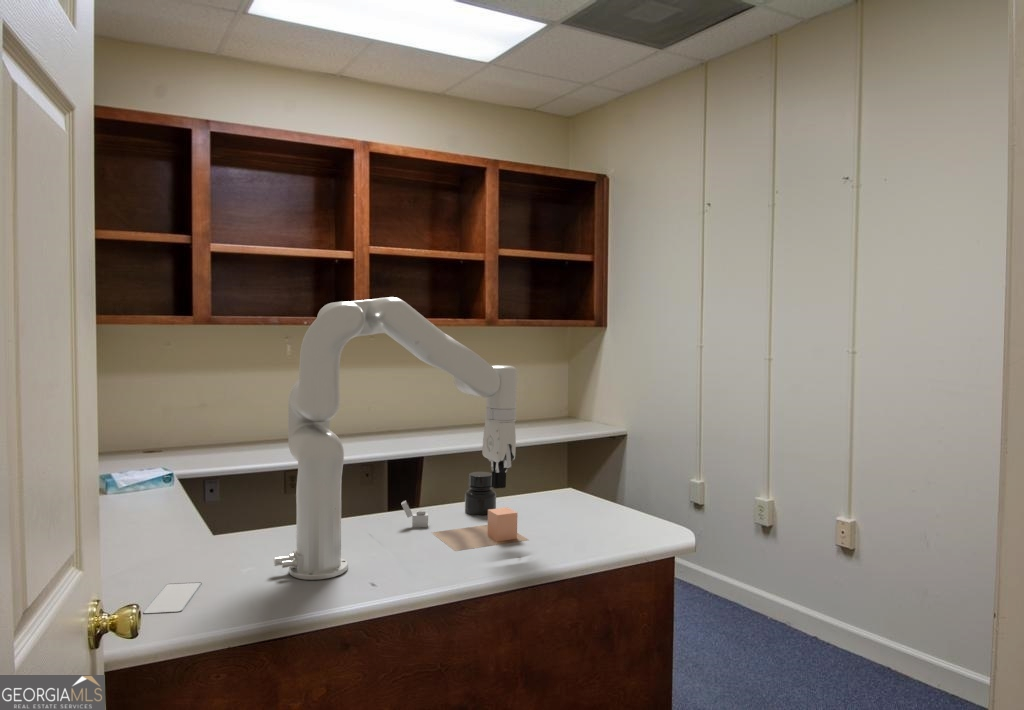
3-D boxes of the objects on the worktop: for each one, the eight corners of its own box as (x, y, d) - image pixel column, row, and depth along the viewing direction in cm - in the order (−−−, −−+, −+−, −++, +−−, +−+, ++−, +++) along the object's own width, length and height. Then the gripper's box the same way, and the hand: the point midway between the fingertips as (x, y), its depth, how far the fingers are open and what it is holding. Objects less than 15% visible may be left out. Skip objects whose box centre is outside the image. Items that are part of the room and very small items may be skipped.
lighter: (427, 529, 185) (428, 499, 185) (428, 531, 184) (428, 501, 183) (401, 530, 184) (401, 500, 184) (400, 532, 183) (401, 502, 182)
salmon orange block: (497, 541, 172) (497, 515, 172) (487, 535, 177) (487, 509, 177) (517, 538, 175) (517, 512, 174) (507, 532, 180) (507, 507, 179)
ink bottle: (483, 509, 206) (483, 469, 205) (503, 515, 200) (503, 474, 199) (457, 515, 199) (457, 473, 199) (477, 522, 193) (477, 479, 192)
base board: (455, 555, 165) (455, 550, 165) (431, 537, 179) (431, 532, 179) (529, 544, 174) (529, 539, 174) (500, 527, 188) (500, 523, 188)
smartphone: (202, 581, 146) (181, 611, 131) (202, 584, 146) (181, 614, 131) (167, 583, 144) (141, 613, 130) (167, 586, 144) (141, 616, 130)
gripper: (474, 411, 179) (472, 482, 179) (501, 419, 165) (498, 495, 166) (500, 410, 182) (498, 480, 183) (528, 418, 169) (525, 493, 170)
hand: (498, 487), depth 174 cm, fingers closed
